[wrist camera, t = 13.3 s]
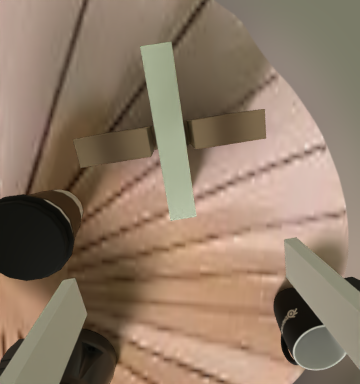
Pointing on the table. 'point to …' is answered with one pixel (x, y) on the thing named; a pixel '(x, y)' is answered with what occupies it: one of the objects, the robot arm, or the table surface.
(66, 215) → the coffee cup
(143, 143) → the slotted board
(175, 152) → the sage plate
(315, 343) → the mug
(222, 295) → the table surface
